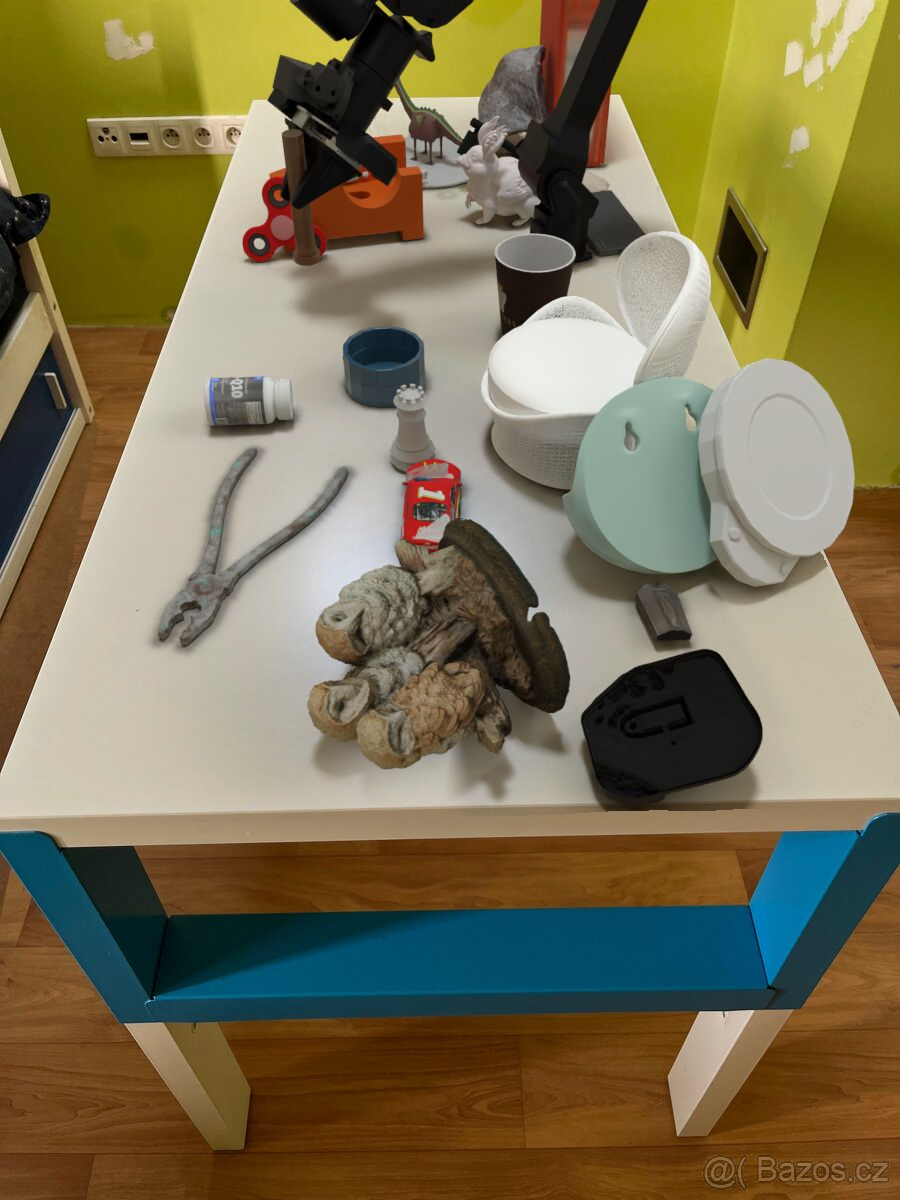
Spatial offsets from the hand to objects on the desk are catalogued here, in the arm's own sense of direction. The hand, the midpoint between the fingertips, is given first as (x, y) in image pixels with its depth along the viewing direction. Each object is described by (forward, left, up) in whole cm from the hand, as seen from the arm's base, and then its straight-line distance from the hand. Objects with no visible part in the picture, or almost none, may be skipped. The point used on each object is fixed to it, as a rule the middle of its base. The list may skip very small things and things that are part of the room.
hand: (288, 203), depth 107 cm
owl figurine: (+4, +59, -7) cm, 59 cm away
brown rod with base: (-1, 0, -7) cm, 7 cm away
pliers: (+10, +26, -13) cm, 31 cm away
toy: (-3, -14, -8) cm, 16 cm away
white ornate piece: (-31, -20, -15) cm, 40 cm away
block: (-9, +60, -13) cm, 62 cm away
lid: (-22, +54, -7) cm, 59 cm away
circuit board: (-43, -32, -12) cm, 55 cm away
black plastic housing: (-1, +71, -9) cm, 72 cm away
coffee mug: (-22, +16, -13) cm, 30 cm away
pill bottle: (+16, +16, -10) cm, 25 cm away
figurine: (-34, -10, -13) cm, 38 cm away
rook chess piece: (0, +32, -13) cm, 34 cm away
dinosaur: (-31, -31, -13) cm, 46 cm away
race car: (+3, +40, -13) cm, 42 cm away
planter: (-14, +55, -14) cm, 59 cm away
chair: (-16, +36, -13) cm, 41 cm away
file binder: (-53, -27, -13) cm, 61 cm away
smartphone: (-45, -9, -12) cm, 47 cm away
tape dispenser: (-13, -18, -13) cm, 26 cm away
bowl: (-2, +18, -13) cm, 22 cm away
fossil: (-40, -29, -3) cm, 50 cm away
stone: (-45, -16, -11) cm, 49 cm away
